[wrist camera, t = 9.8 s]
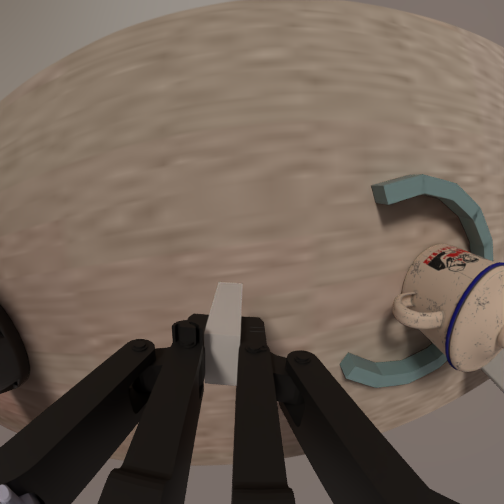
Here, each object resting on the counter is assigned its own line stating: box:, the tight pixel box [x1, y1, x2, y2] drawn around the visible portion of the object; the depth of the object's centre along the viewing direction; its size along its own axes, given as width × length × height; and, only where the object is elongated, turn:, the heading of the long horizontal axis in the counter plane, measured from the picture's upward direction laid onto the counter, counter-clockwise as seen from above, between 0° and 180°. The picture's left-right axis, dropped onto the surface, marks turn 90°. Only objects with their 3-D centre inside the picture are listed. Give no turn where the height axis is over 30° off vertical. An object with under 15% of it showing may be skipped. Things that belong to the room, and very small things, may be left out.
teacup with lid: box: [393, 244, 504, 372], centre depth 17 cm, size 12×9×12 cm
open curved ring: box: [340, 174, 493, 388], centre depth 22 cm, size 16×20×2 cm
